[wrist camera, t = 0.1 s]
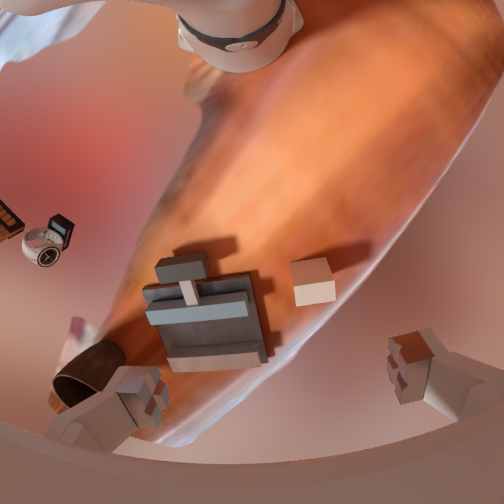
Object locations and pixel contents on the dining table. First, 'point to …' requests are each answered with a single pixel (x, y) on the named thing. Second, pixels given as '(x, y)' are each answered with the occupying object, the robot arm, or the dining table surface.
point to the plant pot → (88, 373)
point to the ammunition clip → (9, 223)
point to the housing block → (312, 281)
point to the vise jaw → (192, 294)
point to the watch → (48, 241)
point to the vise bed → (212, 329)
